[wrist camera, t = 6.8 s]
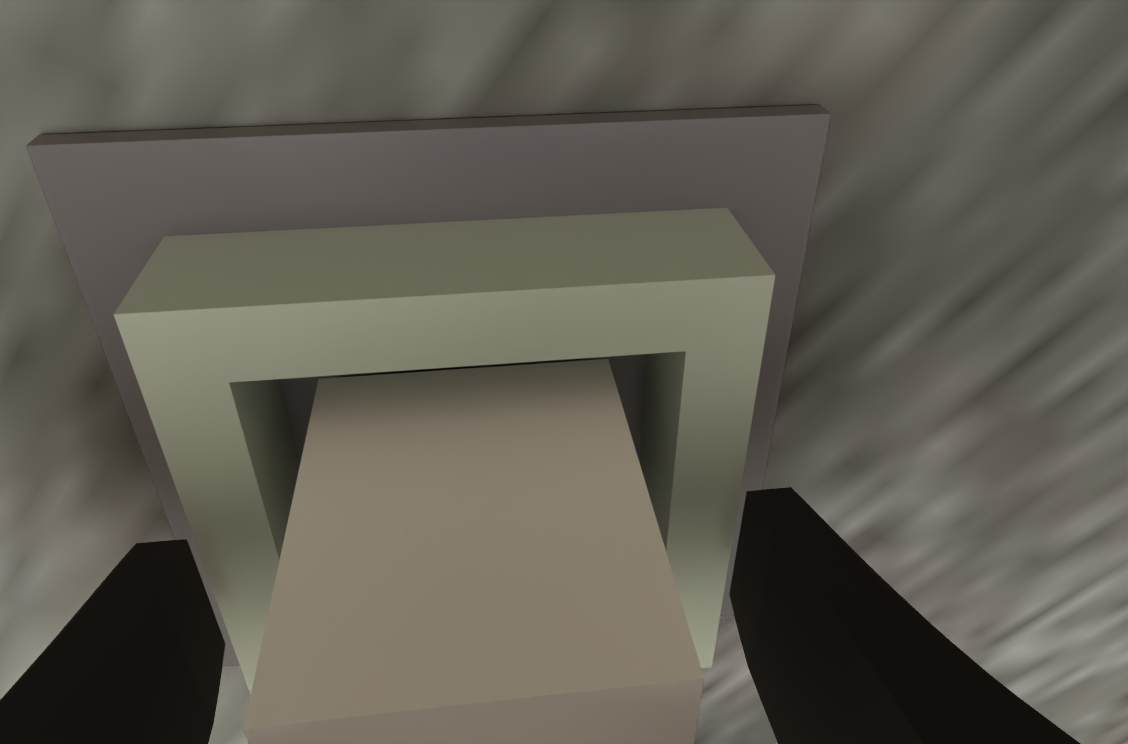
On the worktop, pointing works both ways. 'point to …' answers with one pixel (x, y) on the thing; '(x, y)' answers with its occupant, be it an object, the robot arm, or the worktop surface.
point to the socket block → (441, 300)
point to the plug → (474, 570)
